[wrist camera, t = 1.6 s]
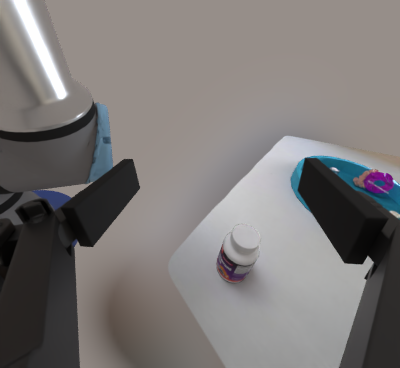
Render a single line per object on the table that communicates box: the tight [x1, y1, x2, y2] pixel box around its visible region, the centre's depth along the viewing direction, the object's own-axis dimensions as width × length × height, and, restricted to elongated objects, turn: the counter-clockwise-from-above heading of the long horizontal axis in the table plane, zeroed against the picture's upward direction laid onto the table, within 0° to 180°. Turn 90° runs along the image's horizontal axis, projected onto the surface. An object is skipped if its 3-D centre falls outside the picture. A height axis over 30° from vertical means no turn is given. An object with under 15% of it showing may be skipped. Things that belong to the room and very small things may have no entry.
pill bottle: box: [216, 224, 261, 283], centre depth 28 cm, size 5×5×10 cm
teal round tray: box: [291, 156, 400, 220], centre depth 47 cm, size 30×30×6 cm
